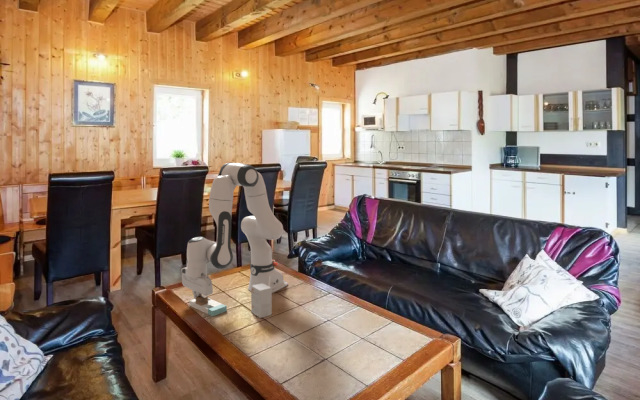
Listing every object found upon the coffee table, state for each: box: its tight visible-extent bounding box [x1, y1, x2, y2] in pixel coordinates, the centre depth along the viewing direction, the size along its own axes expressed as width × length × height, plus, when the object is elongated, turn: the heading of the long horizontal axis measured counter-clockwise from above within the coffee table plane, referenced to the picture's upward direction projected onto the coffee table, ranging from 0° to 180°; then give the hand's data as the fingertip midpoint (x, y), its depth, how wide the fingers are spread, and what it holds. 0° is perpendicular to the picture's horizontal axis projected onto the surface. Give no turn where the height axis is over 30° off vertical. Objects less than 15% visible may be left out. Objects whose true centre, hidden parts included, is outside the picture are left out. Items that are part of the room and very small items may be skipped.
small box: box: [250, 283, 273, 319], centre depth 189 cm, size 8×6×13 cm
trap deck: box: [188, 297, 228, 317], centre depth 194 cm, size 8×18×2 cm, turn 50°
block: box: [196, 294, 209, 306], centre depth 193 cm, size 4×4×3 cm
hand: (197, 299), depth 196 cm, fingers closed
